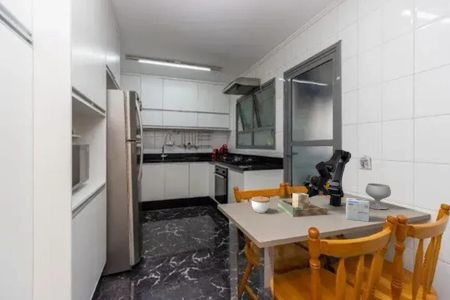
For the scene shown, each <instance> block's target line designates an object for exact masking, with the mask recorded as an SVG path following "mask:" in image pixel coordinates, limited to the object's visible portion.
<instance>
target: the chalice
mask: <svg viewBox="0 0 450 300" xmlns="http://www.w3.org/2000/svg"><path fill="white" fill-rule="evenodd" d="M365 193H366V195H368V196H369V197H371V198H373V199H374V200H375V203H373V204H372V203H371V204H370V203H369V209H374V210H380V209H387V208H388V207H387V206H385V205H381V204H380V202H381V201H382V200H383V199H387V198H389V197H391V195H392V190H391V187H390V185H388V184H385V183H374V182H373V183H371V182H370V183H367V184H366V186H365ZM387 210H388V209H387Z"/></svg>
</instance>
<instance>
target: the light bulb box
mask: <svg viewBox="0 0 450 300" xmlns="http://www.w3.org/2000/svg"><path fill="white" fill-rule="evenodd" d="M369 204H370V201H369V200H368V199H366V198H365V199H364V198H352V197H345V218H346V220H351V221H359V222H367V223H368V222H369V221H370V207H369Z"/></svg>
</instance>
